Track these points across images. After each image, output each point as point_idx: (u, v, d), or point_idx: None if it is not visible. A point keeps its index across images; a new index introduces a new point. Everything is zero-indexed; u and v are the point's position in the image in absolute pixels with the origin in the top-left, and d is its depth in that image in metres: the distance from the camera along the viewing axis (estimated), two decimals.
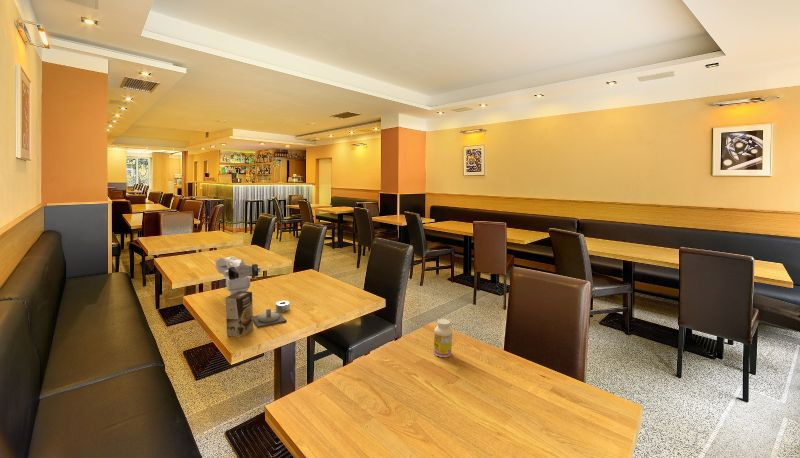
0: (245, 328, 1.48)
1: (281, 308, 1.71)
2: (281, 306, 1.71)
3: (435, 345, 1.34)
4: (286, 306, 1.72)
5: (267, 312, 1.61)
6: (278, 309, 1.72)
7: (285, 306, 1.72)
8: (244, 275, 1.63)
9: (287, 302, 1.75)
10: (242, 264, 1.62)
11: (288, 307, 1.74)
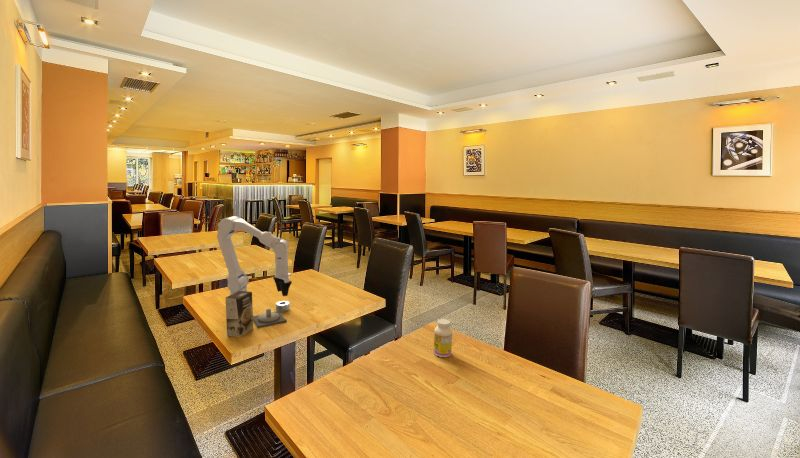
0: (245, 328, 1.48)
1: (281, 308, 1.71)
2: (281, 306, 1.71)
3: (435, 345, 1.34)
4: (286, 306, 1.72)
5: (267, 312, 1.61)
6: (278, 309, 1.72)
7: (285, 306, 1.72)
8: None
9: (287, 302, 1.75)
10: None
11: (288, 307, 1.74)
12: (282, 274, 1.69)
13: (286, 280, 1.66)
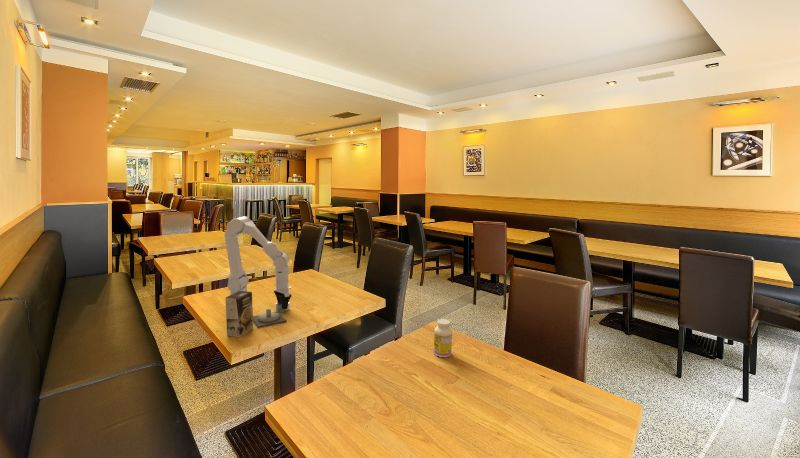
0: (245, 328, 1.48)
1: (281, 308, 1.71)
2: (281, 306, 1.71)
3: (435, 345, 1.34)
4: None
5: (267, 312, 1.61)
6: (278, 309, 1.72)
7: None
8: None
9: None
10: None
11: (288, 307, 1.74)
12: (282, 288, 1.70)
13: (286, 294, 1.67)
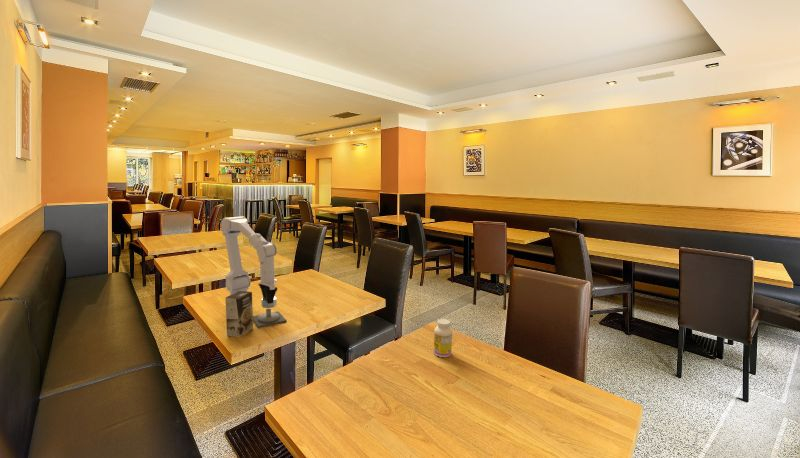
0: (245, 328, 1.48)
1: (267, 304, 1.58)
2: (267, 302, 1.58)
3: (435, 345, 1.34)
4: (273, 302, 1.59)
5: (267, 312, 1.61)
6: (264, 305, 1.58)
7: None
8: None
9: (274, 297, 1.62)
10: None
11: (275, 303, 1.61)
12: (267, 280, 1.57)
13: (272, 287, 1.53)
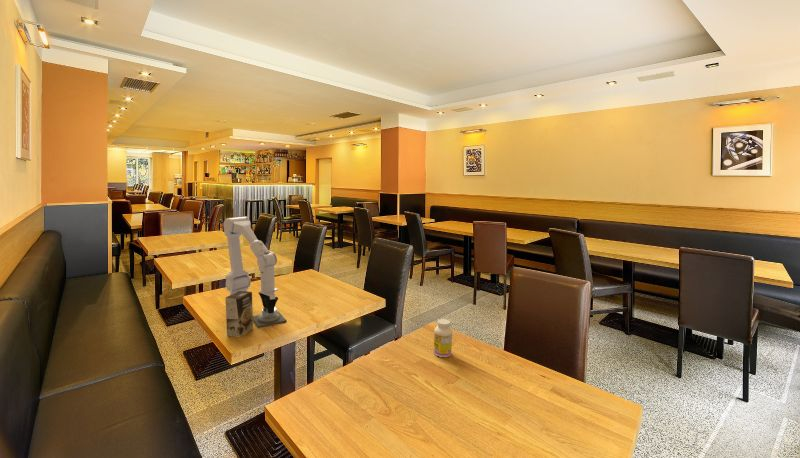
0: (245, 328, 1.48)
1: (267, 315, 1.59)
2: (267, 312, 1.59)
3: (435, 345, 1.34)
4: None
5: None
6: (264, 316, 1.59)
7: None
8: None
9: None
10: None
11: (275, 313, 1.61)
12: (268, 290, 1.57)
13: (272, 296, 1.54)
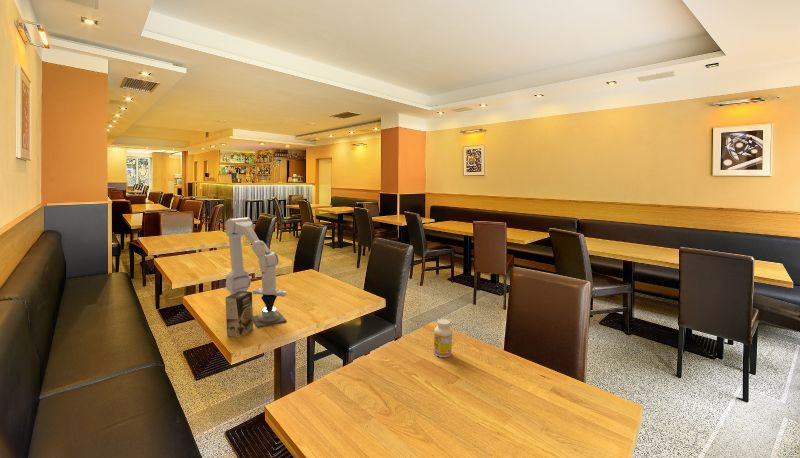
0: (245, 328, 1.48)
1: (267, 315, 1.59)
2: (267, 312, 1.59)
3: (435, 345, 1.34)
4: (273, 312, 1.60)
5: None
6: (264, 316, 1.59)
7: (272, 312, 1.60)
8: None
9: (274, 308, 1.63)
10: None
11: (275, 313, 1.61)
12: (274, 289, 1.57)
13: (284, 293, 1.57)
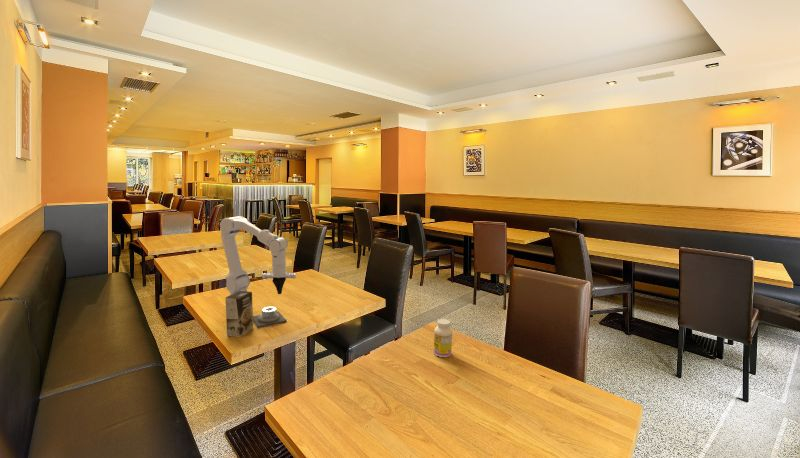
0: (245, 328, 1.48)
1: (267, 315, 1.59)
2: (267, 312, 1.59)
3: (435, 345, 1.34)
4: (273, 312, 1.60)
5: None
6: (264, 316, 1.59)
7: (272, 312, 1.60)
8: None
9: (274, 308, 1.63)
10: None
11: (275, 313, 1.61)
12: (285, 272, 1.64)
13: (295, 275, 1.65)
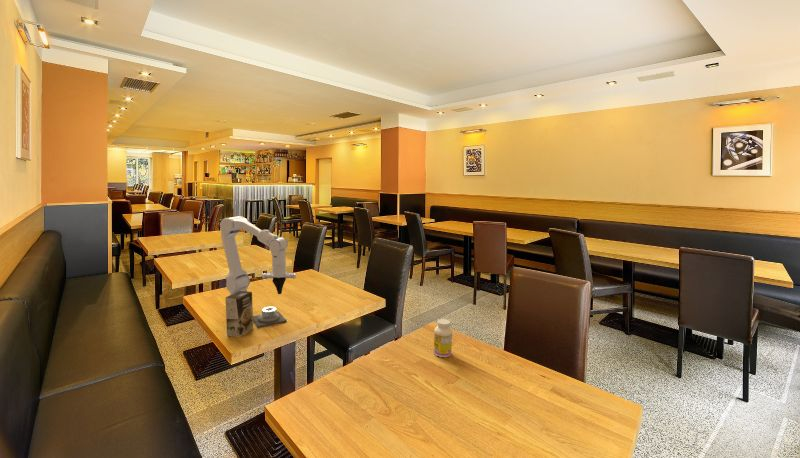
0: (245, 328, 1.48)
1: (267, 315, 1.59)
2: (267, 312, 1.59)
3: (435, 345, 1.34)
4: (273, 312, 1.60)
5: None
6: (264, 316, 1.59)
7: (272, 312, 1.60)
8: None
9: (274, 308, 1.63)
10: None
11: (275, 313, 1.61)
12: (285, 272, 1.64)
13: (295, 275, 1.65)
